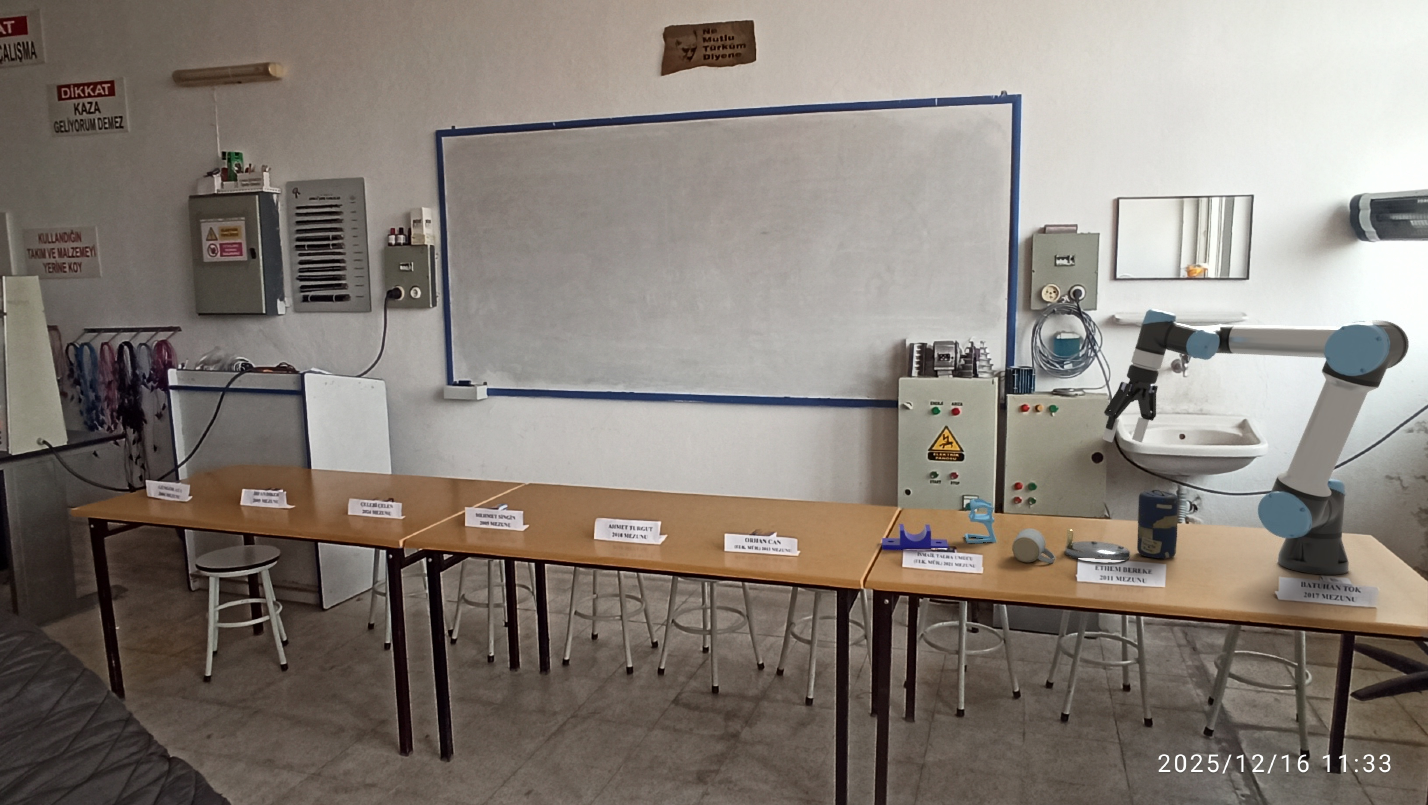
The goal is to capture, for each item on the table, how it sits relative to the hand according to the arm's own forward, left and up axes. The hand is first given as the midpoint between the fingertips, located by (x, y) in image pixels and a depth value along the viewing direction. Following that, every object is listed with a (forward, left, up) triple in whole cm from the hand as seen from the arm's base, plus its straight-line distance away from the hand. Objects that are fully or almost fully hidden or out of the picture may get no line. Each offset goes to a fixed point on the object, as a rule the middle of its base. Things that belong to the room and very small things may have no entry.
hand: (1122, 440), depth 262 cm
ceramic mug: (+24, +21, -29) cm, 43 cm away
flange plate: (+7, +13, -29) cm, 33 cm away
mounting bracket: (+55, +14, -30) cm, 64 cm away
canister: (-8, +11, -29) cm, 32 cm away
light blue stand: (+37, +4, -29) cm, 48 cm away
